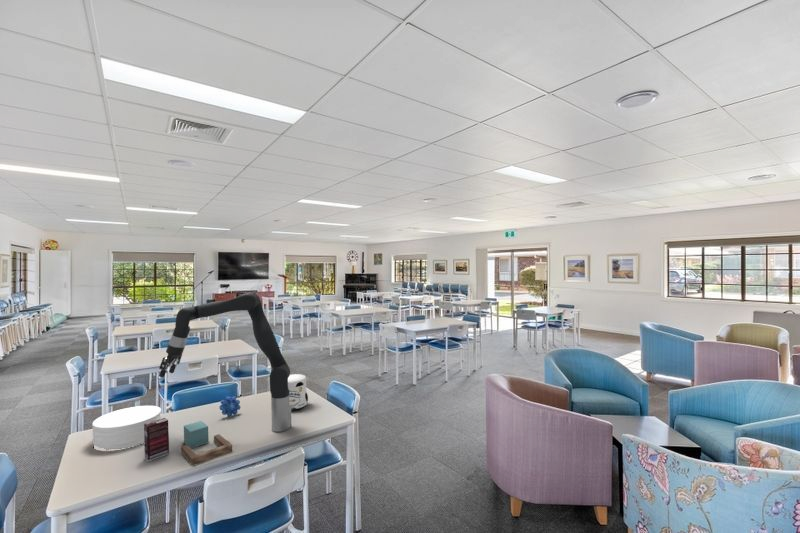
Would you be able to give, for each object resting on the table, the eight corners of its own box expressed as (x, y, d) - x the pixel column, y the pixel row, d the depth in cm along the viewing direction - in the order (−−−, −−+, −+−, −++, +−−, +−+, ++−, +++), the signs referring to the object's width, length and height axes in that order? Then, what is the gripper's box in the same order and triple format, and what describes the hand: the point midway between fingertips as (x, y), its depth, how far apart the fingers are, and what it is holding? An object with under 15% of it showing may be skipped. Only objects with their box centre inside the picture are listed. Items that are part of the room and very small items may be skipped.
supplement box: (165, 451, 172) (165, 417, 172) (169, 454, 169) (168, 419, 169) (143, 458, 165) (143, 423, 165) (147, 462, 162) (147, 426, 162)
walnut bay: (219, 440, 182) (219, 434, 182) (232, 451, 171) (232, 444, 171) (180, 452, 170) (180, 446, 170) (192, 465, 159) (192, 458, 159)
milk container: (286, 415, 212) (285, 384, 212) (273, 407, 225) (273, 377, 225) (313, 407, 224) (312, 377, 224) (299, 400, 237) (299, 372, 237)
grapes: (222, 421, 205) (221, 400, 205) (218, 418, 210) (217, 397, 210) (243, 415, 213) (243, 394, 213) (238, 412, 218) (238, 392, 218)
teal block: (201, 436, 187) (201, 420, 187) (208, 442, 180) (208, 426, 180) (183, 441, 181) (183, 425, 181) (190, 448, 174) (190, 431, 174)
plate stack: (145, 422, 206) (145, 402, 206) (172, 433, 191) (171, 411, 191) (82, 443, 182) (82, 420, 182) (108, 457, 167) (107, 432, 167)
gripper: (176, 349, 183) (165, 380, 182) (191, 344, 197) (181, 373, 196) (161, 344, 183) (150, 376, 182) (177, 340, 197) (167, 369, 196)
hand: (166, 374), depth 189 cm, fingers open, 8 cm apart
